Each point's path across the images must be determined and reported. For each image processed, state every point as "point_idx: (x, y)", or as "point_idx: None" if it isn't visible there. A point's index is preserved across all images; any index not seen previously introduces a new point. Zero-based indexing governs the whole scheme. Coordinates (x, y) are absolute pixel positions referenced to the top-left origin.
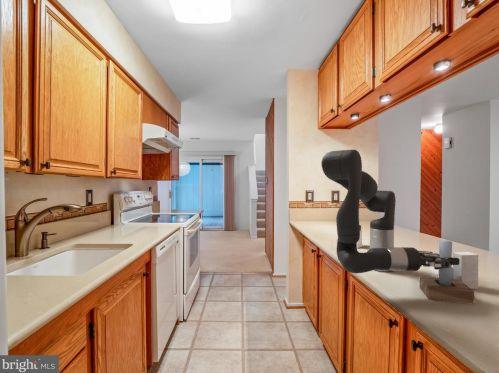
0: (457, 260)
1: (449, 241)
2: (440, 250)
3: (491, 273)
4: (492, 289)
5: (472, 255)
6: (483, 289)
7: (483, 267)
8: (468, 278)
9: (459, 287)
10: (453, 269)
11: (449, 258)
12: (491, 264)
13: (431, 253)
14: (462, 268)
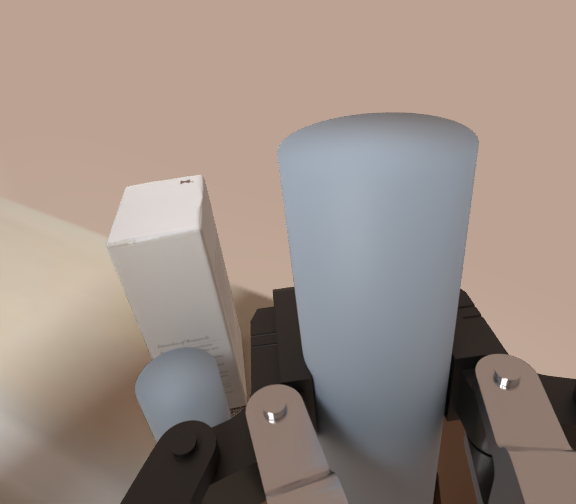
0: (465, 297)
1: (377, 122)
2: (403, 333)
3: (89, 237)
4: (246, 294)
5: (203, 193)
6: (247, 321)
7: (27, 233)
8: (235, 331)
9: (448, 457)
10: (212, 358)
11: (476, 341)
12: (16, 209)
13: (345, 495)
14: (223, 307)
